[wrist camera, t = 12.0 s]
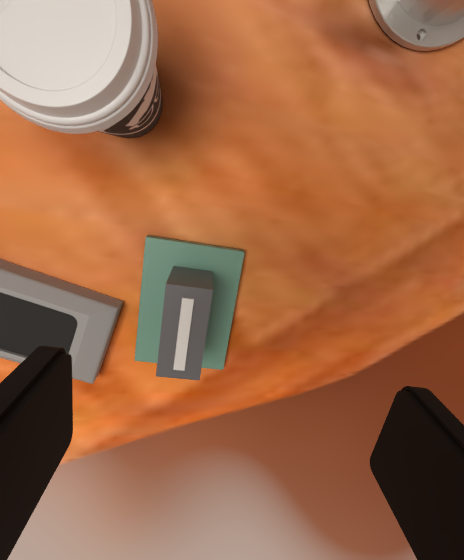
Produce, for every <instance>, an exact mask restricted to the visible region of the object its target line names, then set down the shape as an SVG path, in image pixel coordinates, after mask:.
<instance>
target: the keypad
mask: <svg viewBox="0 0 464 560" xmlns="http://www.w3.org/2000/svg"><path fill="white" fill-rule="evenodd" d="M123 302H124V301H122V300H119V299H116V298H113V297H110V296H107V295H104V294H101V293H99V292H96V291H93V290H90V289H87V288H84V287H81V286H78V285H75V284H72V283H69V282H66V281H63V280H60V279H57V278H54V277H52V276H49V275H46V274H43V273H40V272H37V271H34V270H31V269H28V268H25V267H22V266H19V265H16V264H13V263H10V262H8V261H5V260H2V259H0V358H4V359H7V360H11V361H14V362H18V363H22V362H23V361H24V360H25V359H26V358H27V357H28V356H29V355H30V354H31V353H32V352H33V351H34V350H35V349H36V348H37V347H39V346H51V347H60V348H64V349H65V351H66V354H70V355H71V356H72V378H74V379H77V380H81V381H84V382H88V383H94V381H95V379H96V378H97V376H98V374H99V372H100V369H101V366H102V363H103V360H104V357H105V354H106V351H107V349H108V346H109V343H110V340H111V337H112V334H113V331H114V328H115V325H116V322H117V319H118V316H119V313H120V310H121V307H122V305H123Z"/></svg>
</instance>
